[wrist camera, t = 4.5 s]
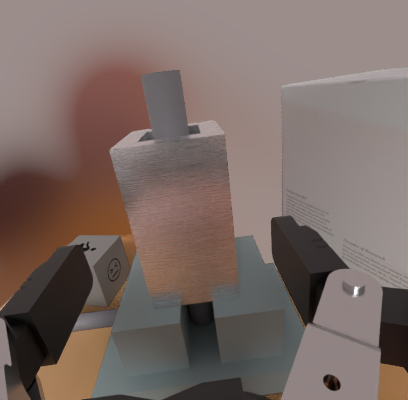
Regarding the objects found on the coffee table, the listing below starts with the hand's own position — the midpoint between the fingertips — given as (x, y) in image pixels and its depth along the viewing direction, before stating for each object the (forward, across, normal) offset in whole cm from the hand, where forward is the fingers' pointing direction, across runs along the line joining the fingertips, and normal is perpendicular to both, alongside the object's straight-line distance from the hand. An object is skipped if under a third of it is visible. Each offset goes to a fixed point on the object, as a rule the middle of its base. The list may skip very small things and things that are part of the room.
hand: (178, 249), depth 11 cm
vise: (+6, +4, +12) cm, 14 cm away
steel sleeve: (+6, 0, +6) cm, 8 cm away
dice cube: (+13, +11, +12) cm, 21 cm away
